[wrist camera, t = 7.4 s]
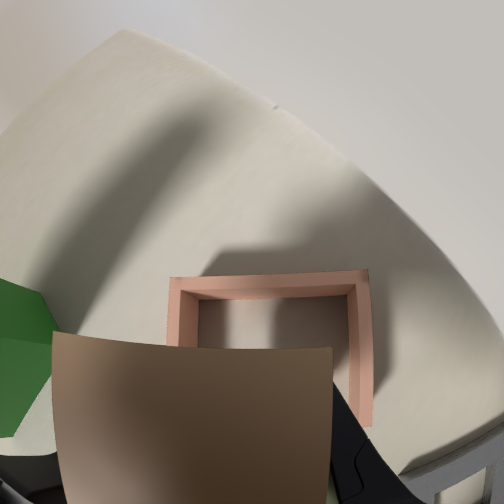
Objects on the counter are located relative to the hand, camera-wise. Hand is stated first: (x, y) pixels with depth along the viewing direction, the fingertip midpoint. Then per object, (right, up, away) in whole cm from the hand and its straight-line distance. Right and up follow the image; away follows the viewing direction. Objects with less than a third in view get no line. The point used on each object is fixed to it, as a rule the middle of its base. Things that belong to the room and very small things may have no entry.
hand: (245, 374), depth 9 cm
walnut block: (+1, -3, +6) cm, 7 cm away
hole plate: (+17, -16, +2) cm, 23 cm away
